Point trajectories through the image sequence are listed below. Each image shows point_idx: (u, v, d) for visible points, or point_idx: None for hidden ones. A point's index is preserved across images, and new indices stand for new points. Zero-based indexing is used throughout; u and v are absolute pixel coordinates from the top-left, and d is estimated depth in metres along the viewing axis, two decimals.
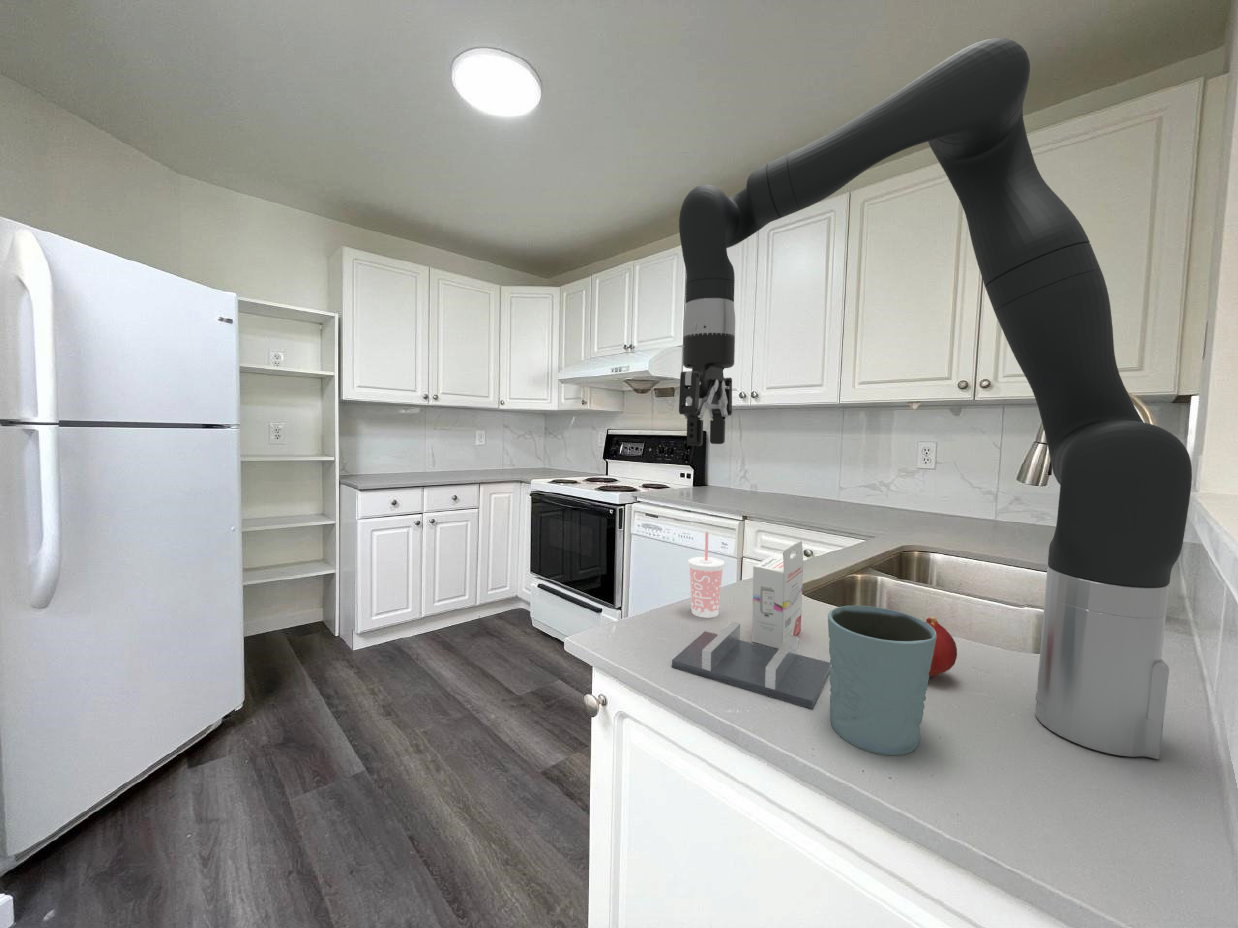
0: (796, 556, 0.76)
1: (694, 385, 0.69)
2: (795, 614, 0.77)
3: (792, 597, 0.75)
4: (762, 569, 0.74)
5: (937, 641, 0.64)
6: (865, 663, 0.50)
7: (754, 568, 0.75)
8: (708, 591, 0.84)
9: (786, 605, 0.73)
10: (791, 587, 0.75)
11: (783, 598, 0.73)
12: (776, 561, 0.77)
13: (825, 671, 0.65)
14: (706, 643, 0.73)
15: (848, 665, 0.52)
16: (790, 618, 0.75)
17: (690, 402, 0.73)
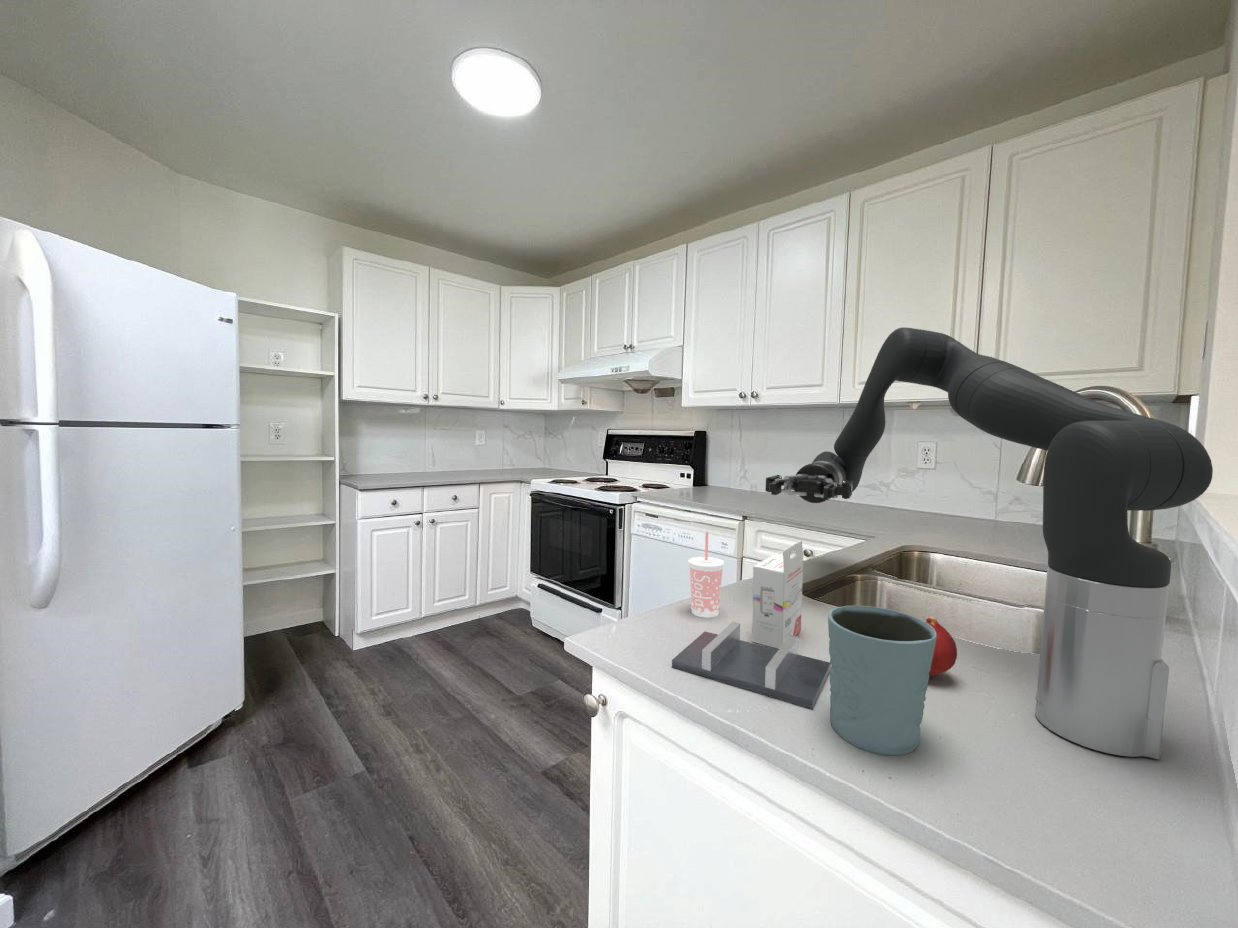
0: (796, 556, 0.76)
1: (772, 477, 0.96)
2: (795, 614, 0.77)
3: (792, 597, 0.75)
4: (762, 569, 0.74)
5: (937, 641, 0.64)
6: (865, 663, 0.50)
7: (754, 568, 0.75)
8: (708, 591, 0.84)
9: (786, 605, 0.73)
10: (791, 587, 0.75)
11: (783, 598, 0.73)
12: (776, 561, 0.77)
13: (825, 671, 0.65)
14: (706, 643, 0.73)
15: (848, 665, 0.52)
16: (790, 618, 0.75)
17: None
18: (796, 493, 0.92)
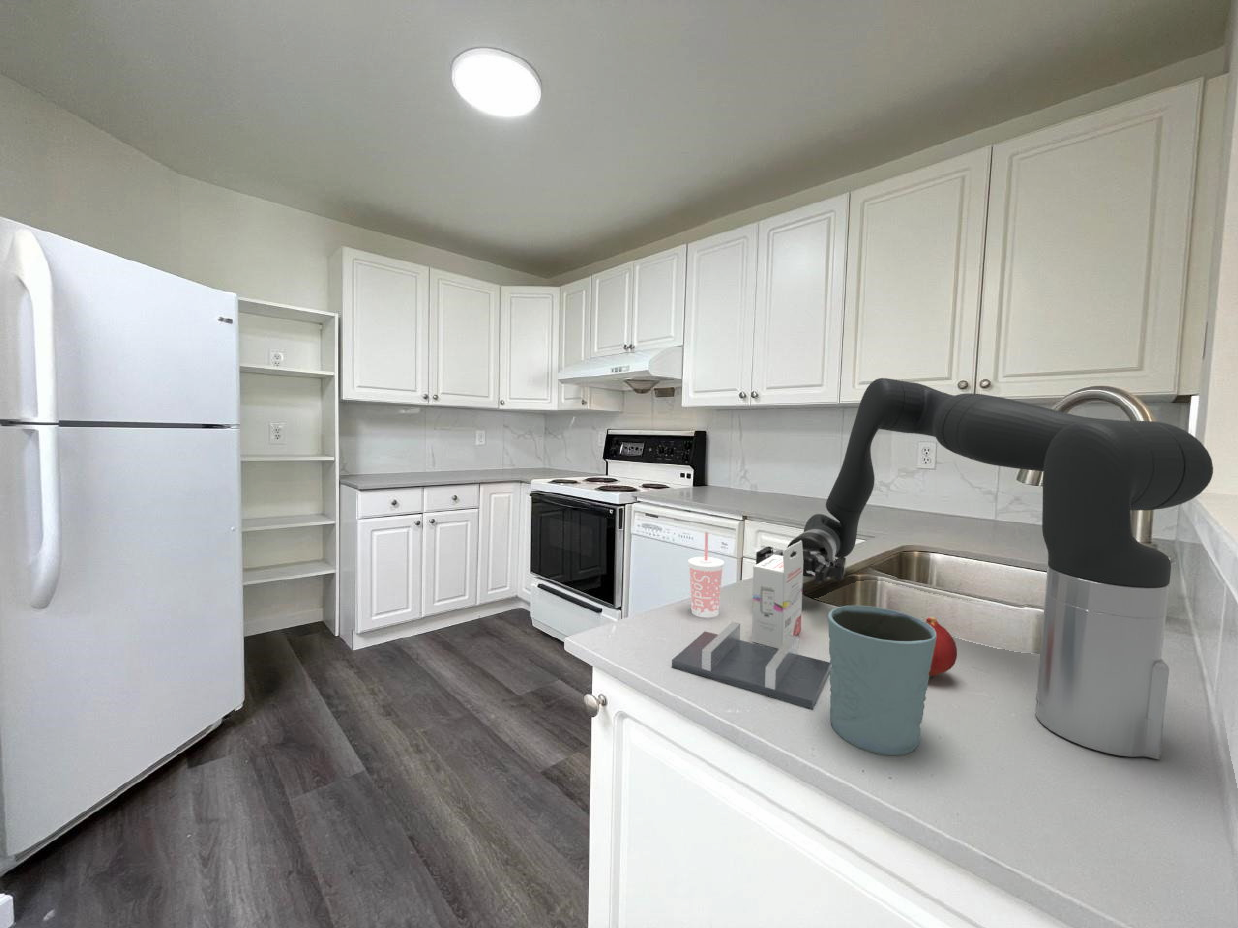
0: (796, 556, 0.76)
1: None
2: (795, 614, 0.77)
3: (792, 597, 0.75)
4: (762, 569, 0.74)
5: (937, 641, 0.64)
6: (865, 663, 0.50)
7: (754, 568, 0.75)
8: (708, 591, 0.84)
9: (786, 605, 0.73)
10: (791, 587, 0.75)
11: (783, 598, 0.73)
12: (776, 561, 0.77)
13: (825, 671, 0.65)
14: (706, 643, 0.73)
15: (848, 665, 0.52)
16: (790, 618, 0.75)
17: None
18: None
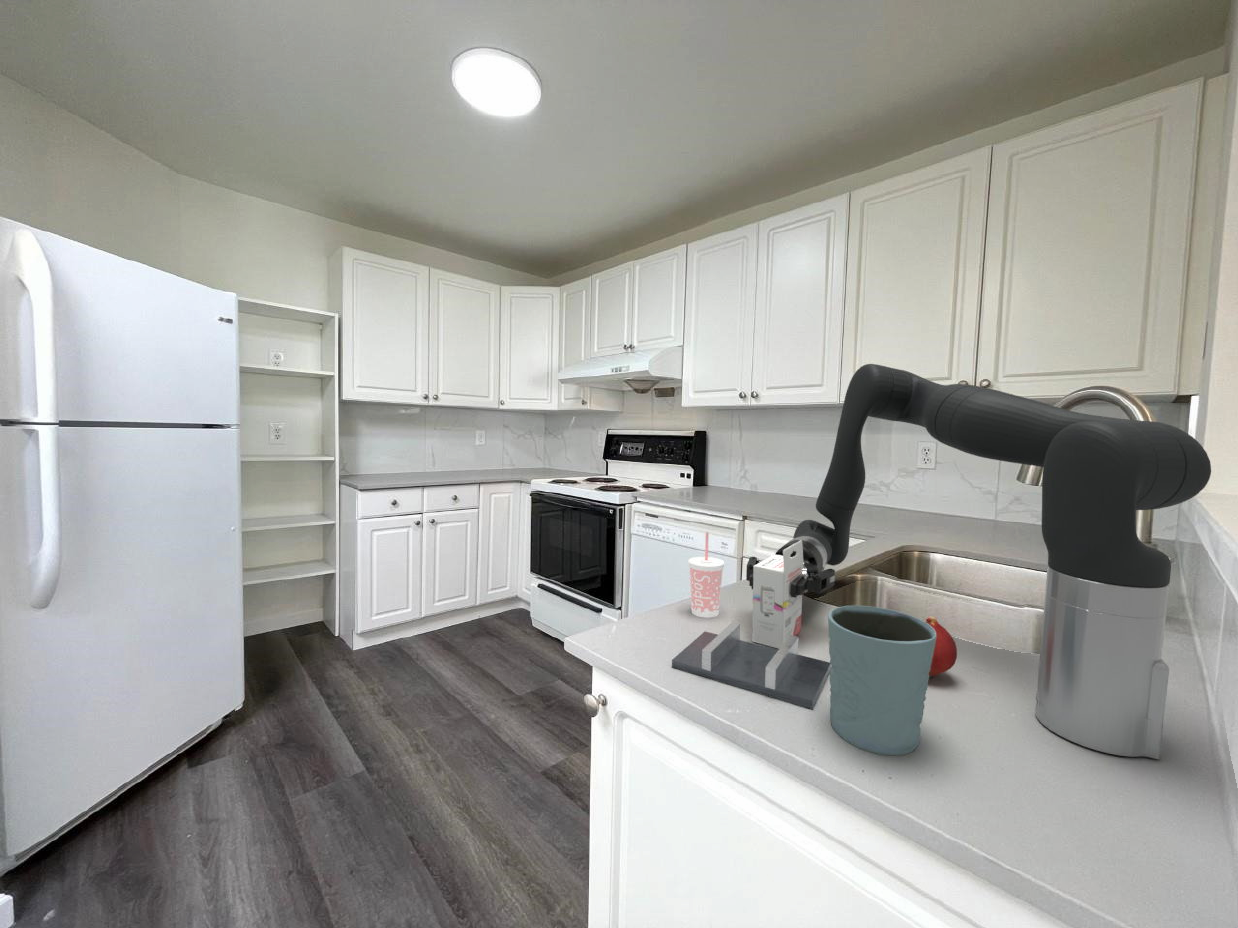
0: (796, 556, 0.76)
1: None
2: (795, 614, 0.77)
3: (792, 597, 0.75)
4: (762, 568, 0.74)
5: (937, 641, 0.64)
6: (865, 663, 0.50)
7: (754, 568, 0.75)
8: (708, 591, 0.84)
9: (786, 604, 0.73)
10: None
11: (783, 598, 0.73)
12: (776, 561, 0.77)
13: (825, 671, 0.65)
14: (706, 643, 0.73)
15: (848, 665, 0.52)
16: (790, 617, 0.75)
17: None
18: None
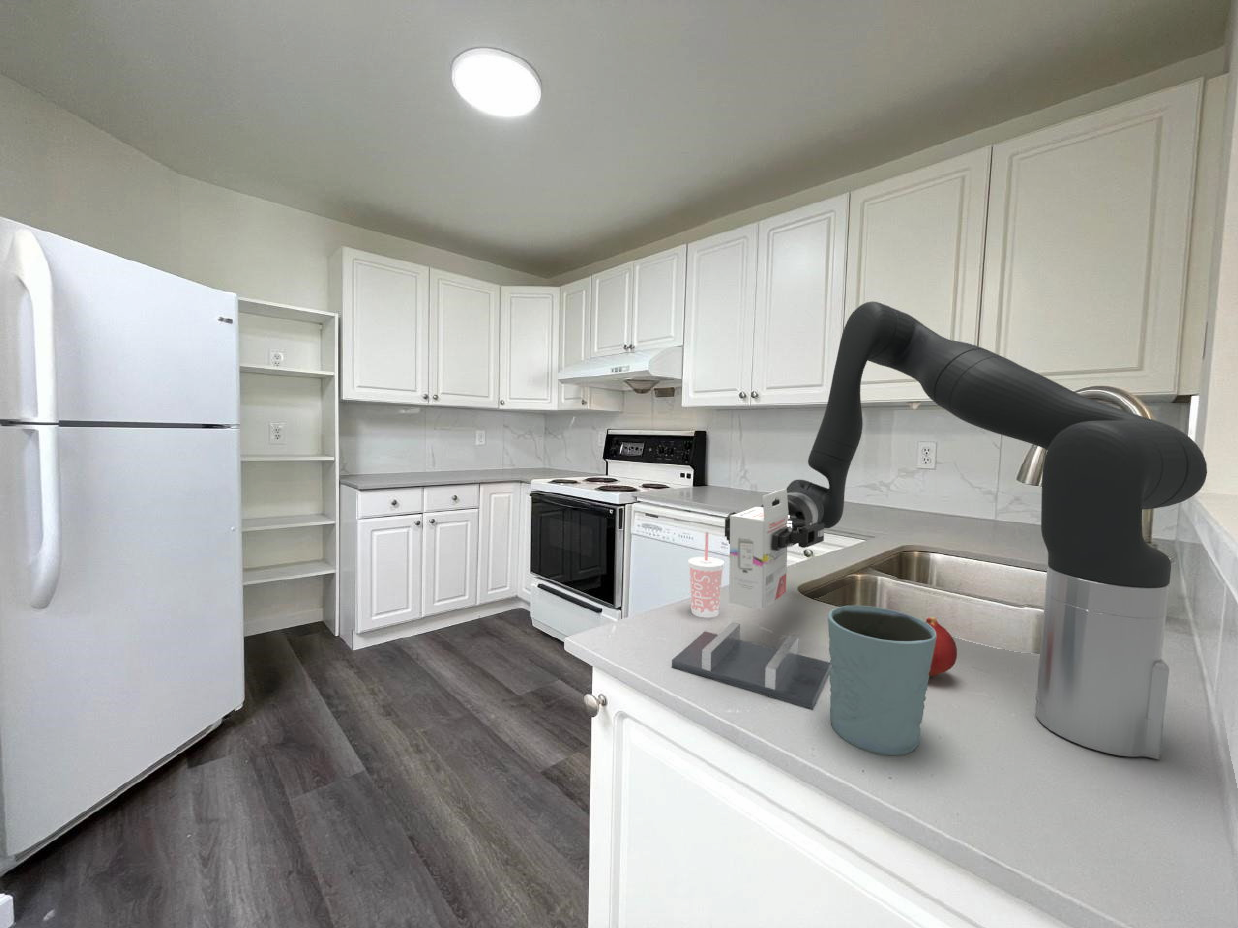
0: (779, 505, 0.67)
1: None
2: (779, 572, 0.67)
3: (775, 551, 0.66)
4: (740, 518, 0.65)
5: (937, 641, 0.64)
6: (865, 663, 0.50)
7: (731, 518, 0.65)
8: (708, 591, 0.84)
9: (767, 559, 0.64)
10: None
11: (763, 550, 0.63)
12: (757, 511, 0.68)
13: (825, 671, 0.65)
14: (706, 643, 0.73)
15: (848, 665, 0.52)
16: (772, 574, 0.66)
17: None
18: None
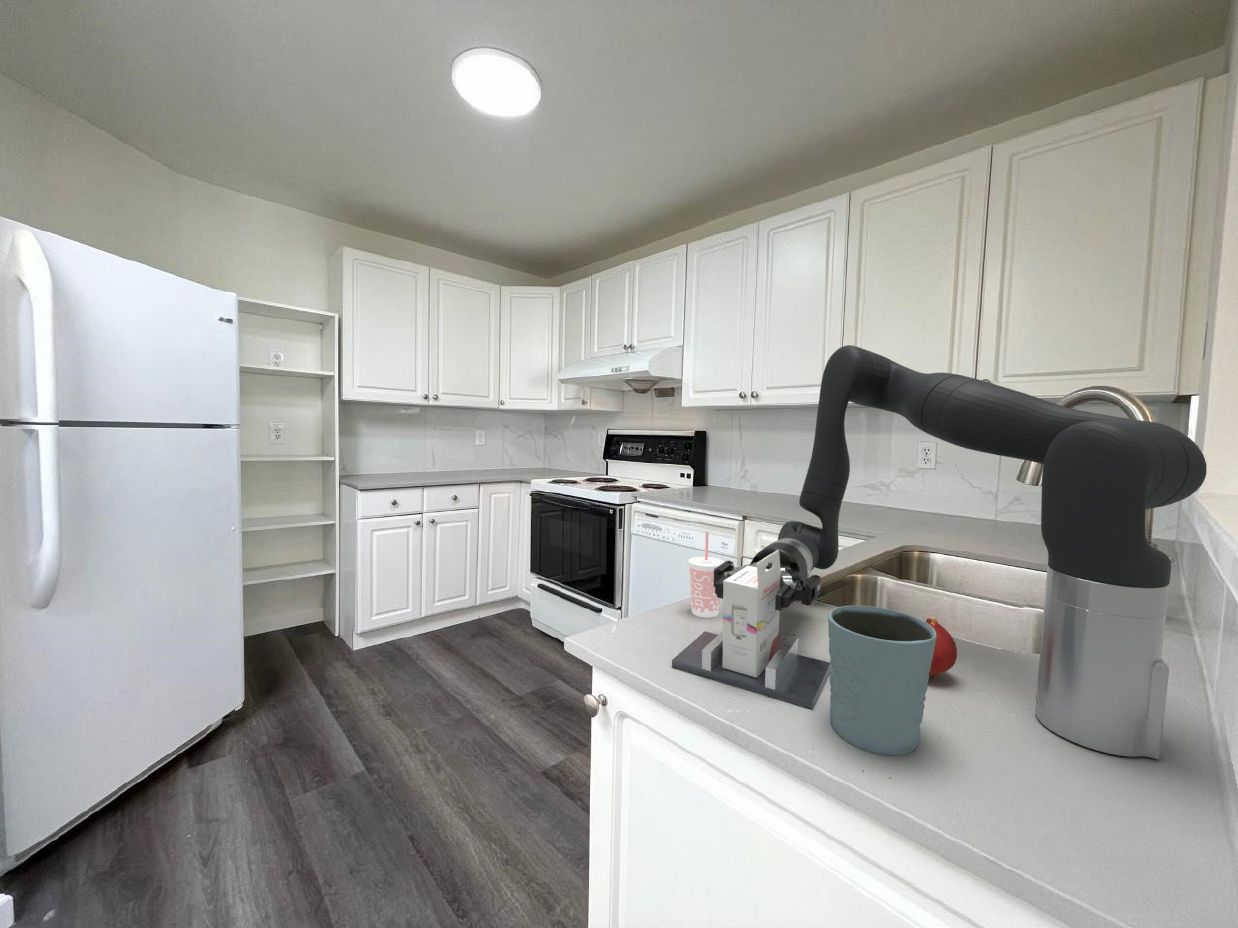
0: (772, 568, 0.66)
1: None
2: (771, 635, 0.67)
3: (768, 616, 0.65)
4: (733, 584, 0.64)
5: (937, 641, 0.64)
6: (865, 663, 0.50)
7: (724, 583, 0.65)
8: (708, 591, 0.84)
9: (760, 626, 0.63)
10: (767, 605, 0.65)
11: (757, 618, 0.62)
12: (750, 574, 0.67)
13: (825, 671, 0.65)
14: (706, 643, 0.73)
15: (848, 665, 0.52)
16: (765, 640, 0.65)
17: None
18: None
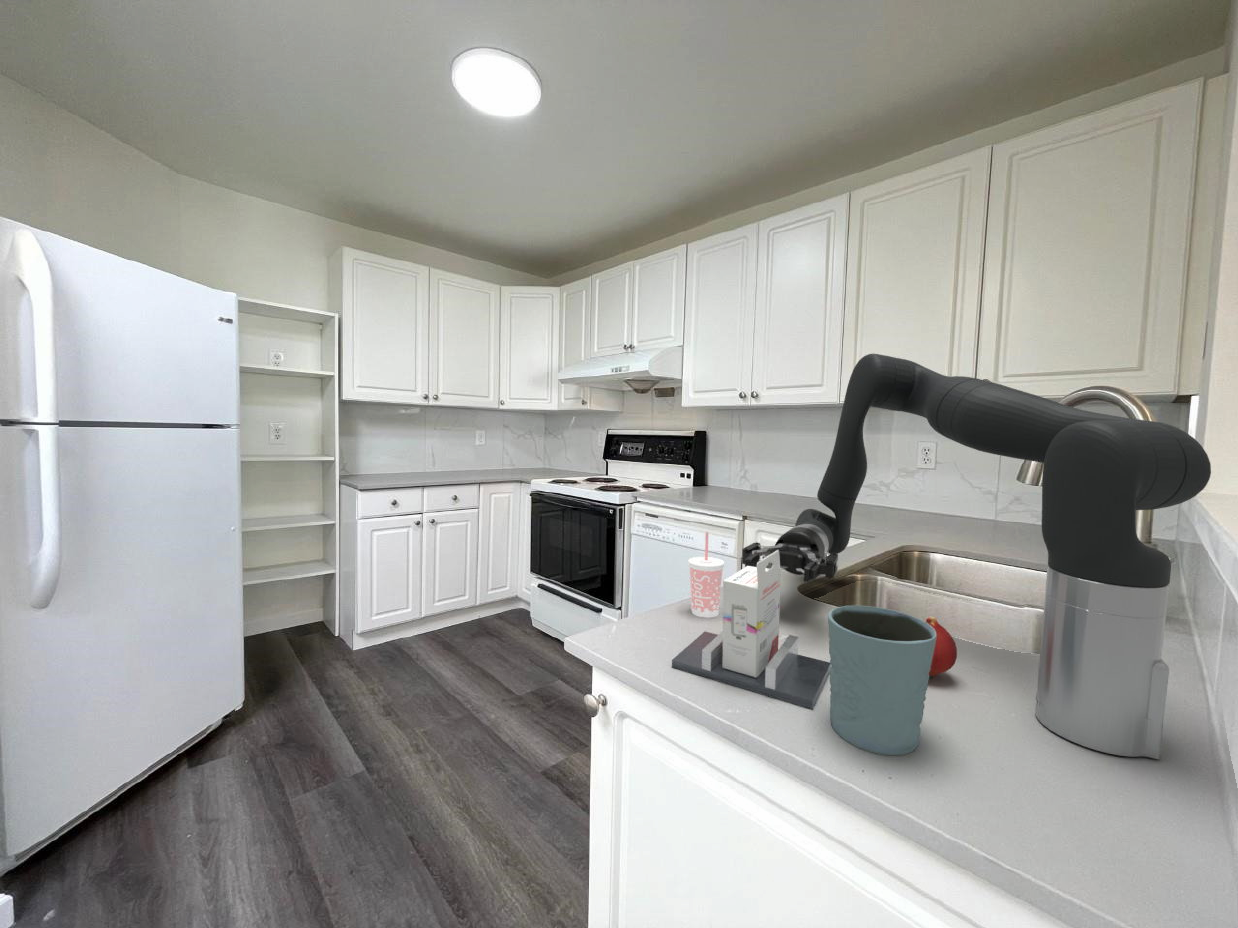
0: (772, 568, 0.66)
1: None
2: (771, 635, 0.67)
3: (768, 616, 0.65)
4: (733, 584, 0.64)
5: (937, 641, 0.64)
6: (865, 663, 0.50)
7: (724, 583, 0.65)
8: (708, 591, 0.84)
9: (760, 626, 0.63)
10: (766, 605, 0.65)
11: (757, 618, 0.62)
12: (750, 574, 0.67)
13: (825, 671, 0.65)
14: (706, 643, 0.73)
15: (848, 665, 0.52)
16: (765, 640, 0.65)
17: None
18: None
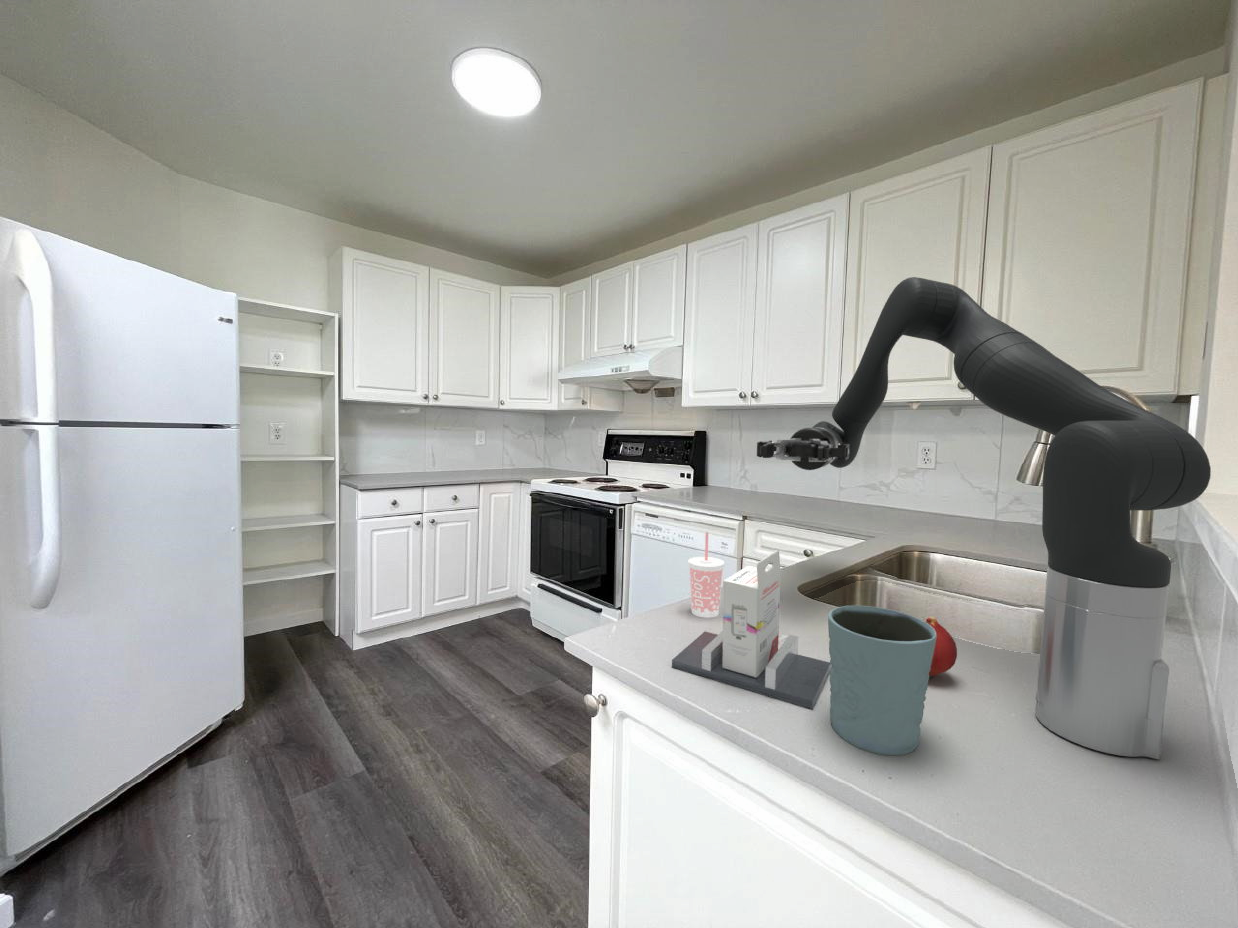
0: (772, 568, 0.66)
1: None
2: (771, 635, 0.67)
3: (768, 616, 0.65)
4: (733, 584, 0.64)
5: (937, 641, 0.64)
6: (865, 663, 0.50)
7: (724, 583, 0.65)
8: (708, 591, 0.84)
9: (760, 626, 0.63)
10: (766, 605, 0.65)
11: (757, 618, 0.62)
12: (750, 574, 0.67)
13: (825, 671, 0.65)
14: (706, 643, 0.73)
15: (848, 665, 0.52)
16: (765, 640, 0.65)
17: None
18: (789, 458, 0.87)
